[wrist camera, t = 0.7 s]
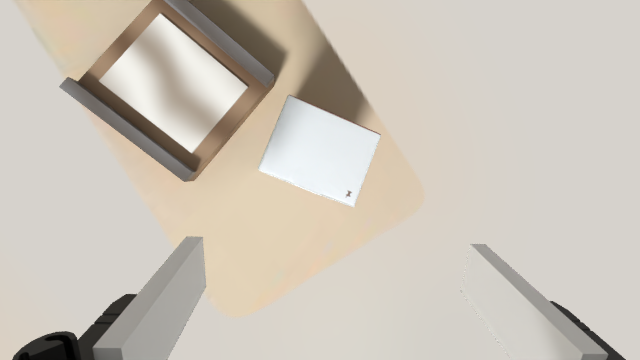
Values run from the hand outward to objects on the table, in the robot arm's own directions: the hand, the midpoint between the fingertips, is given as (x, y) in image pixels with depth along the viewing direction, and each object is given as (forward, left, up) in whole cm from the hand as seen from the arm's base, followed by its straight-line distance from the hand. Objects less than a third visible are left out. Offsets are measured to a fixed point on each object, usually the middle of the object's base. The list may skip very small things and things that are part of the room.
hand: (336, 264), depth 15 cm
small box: (-5, -3, -22) cm, 22 cm away
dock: (-2, -18, -21) cm, 28 cm away
